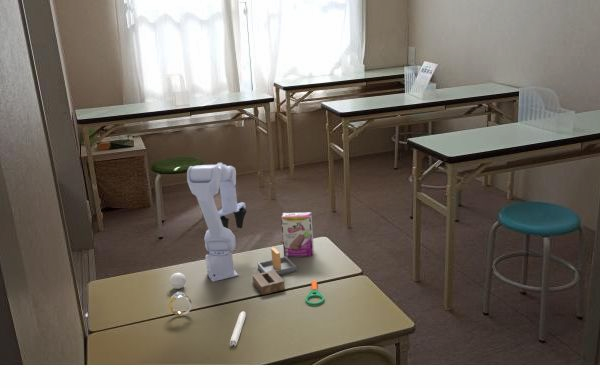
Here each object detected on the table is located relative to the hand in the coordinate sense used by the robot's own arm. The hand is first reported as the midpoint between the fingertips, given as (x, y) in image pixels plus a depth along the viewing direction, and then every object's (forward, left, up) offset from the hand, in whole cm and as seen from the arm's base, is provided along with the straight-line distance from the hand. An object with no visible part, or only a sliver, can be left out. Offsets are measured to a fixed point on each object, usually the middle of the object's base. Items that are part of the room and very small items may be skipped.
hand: (232, 231), depth 225 cm
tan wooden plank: (+10, -20, -10) cm, 24 cm away
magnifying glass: (+14, -44, -11) cm, 48 cm away
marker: (-14, -53, -11) cm, 56 cm away
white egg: (-26, -16, -11) cm, 32 cm away
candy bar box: (+22, -12, -11) cm, 27 cm away
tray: (+10, -20, -10) cm, 24 cm away
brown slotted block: (+3, -31, -10) cm, 33 cm away
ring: (-28, -36, -11) cm, 47 cm away
